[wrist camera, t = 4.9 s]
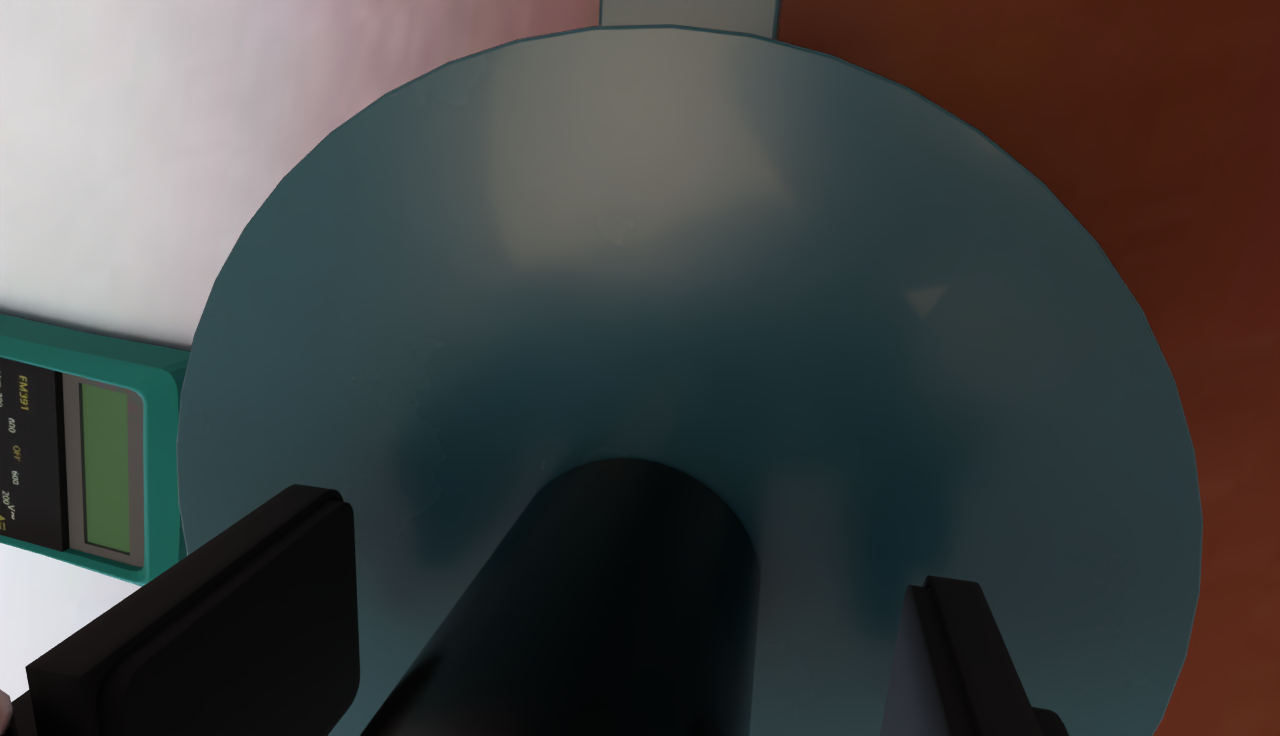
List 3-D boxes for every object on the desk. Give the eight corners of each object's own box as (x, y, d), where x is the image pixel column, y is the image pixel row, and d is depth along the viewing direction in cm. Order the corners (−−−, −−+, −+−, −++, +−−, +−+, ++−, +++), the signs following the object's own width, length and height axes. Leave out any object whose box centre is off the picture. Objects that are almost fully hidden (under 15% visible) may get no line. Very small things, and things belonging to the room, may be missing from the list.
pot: (1043, -1, 18) (1341, -168, 8) (911, 703, 24) (997, 1110, 14) (474, -22, 20) (172, -176, 10) (471, 629, 26) (269, 935, 16)
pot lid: (1298, 64, 10) (2977, -190, 2) (1044, 985, 14) (1338, 1964, 6) (187, 13, 12) (-801, -199, 4) (257, 816, 16) (-198, 1391, 9)
